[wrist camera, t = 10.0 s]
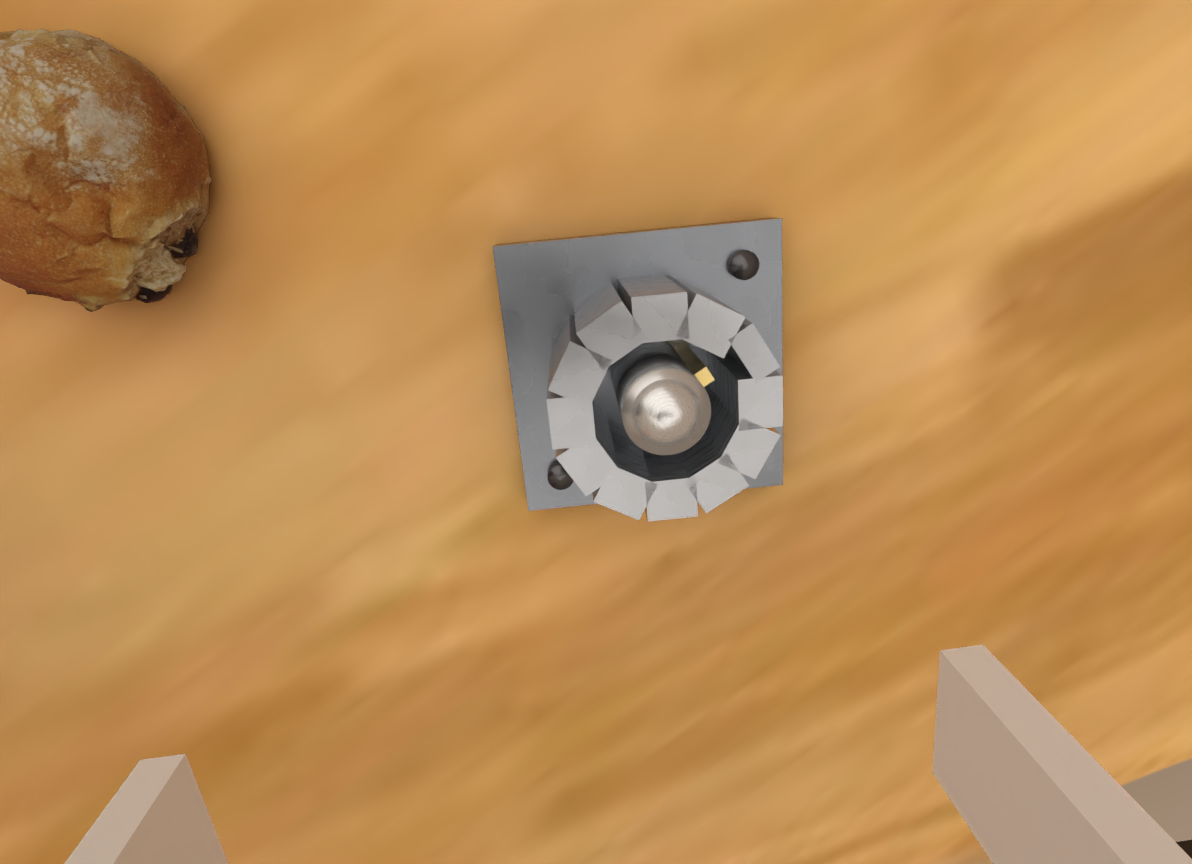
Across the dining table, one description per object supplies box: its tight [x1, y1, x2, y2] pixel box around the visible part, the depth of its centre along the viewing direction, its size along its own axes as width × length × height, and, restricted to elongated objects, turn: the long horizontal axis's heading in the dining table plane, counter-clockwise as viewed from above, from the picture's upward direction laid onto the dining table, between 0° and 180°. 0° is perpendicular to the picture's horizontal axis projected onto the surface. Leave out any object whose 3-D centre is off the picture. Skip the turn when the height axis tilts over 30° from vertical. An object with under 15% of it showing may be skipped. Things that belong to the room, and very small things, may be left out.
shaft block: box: [493, 218, 783, 511], centre depth 28 cm, size 12×12×8 cm
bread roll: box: [0, 29, 212, 312], centre depth 26 cm, size 10×10×8 cm
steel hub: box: [546, 274, 783, 521], centre depth 27 cm, size 8×8×6 cm
